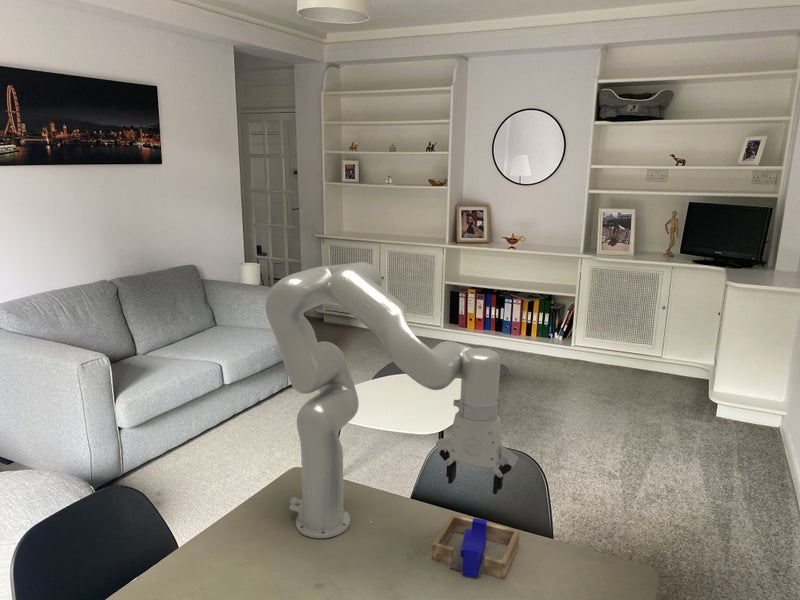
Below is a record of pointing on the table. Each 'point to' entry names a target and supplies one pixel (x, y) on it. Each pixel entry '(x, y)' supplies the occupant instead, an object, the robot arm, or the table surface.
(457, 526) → the walled box
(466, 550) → the blue stepped block
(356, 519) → the table surface
